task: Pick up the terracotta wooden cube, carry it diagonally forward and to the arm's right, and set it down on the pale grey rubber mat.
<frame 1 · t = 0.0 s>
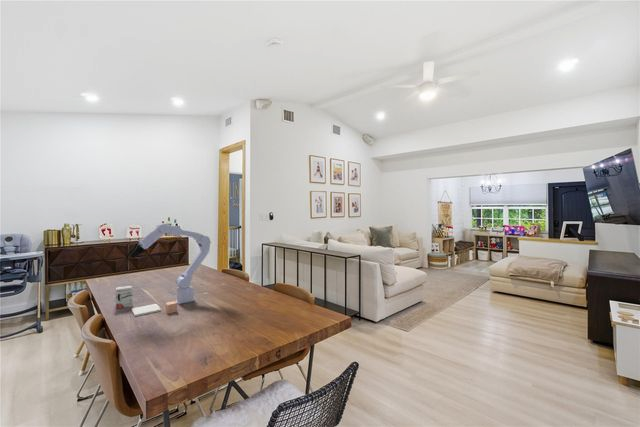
hand: (130, 256, 168), 32 cm above the table, tool tilted 50°, fingers open, 7 cm apart
cube: (171, 311, 169), on the table
mat: (146, 310, 171), on the table
ink box: (124, 306, 179), on the table
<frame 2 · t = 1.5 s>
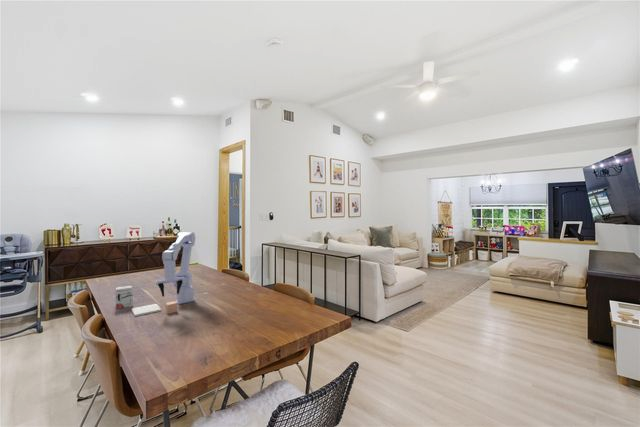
hand: (170, 295, 169), 10 cm above the table, tool pointing down, fingers open, 7 cm apart
nothing on the table moved.
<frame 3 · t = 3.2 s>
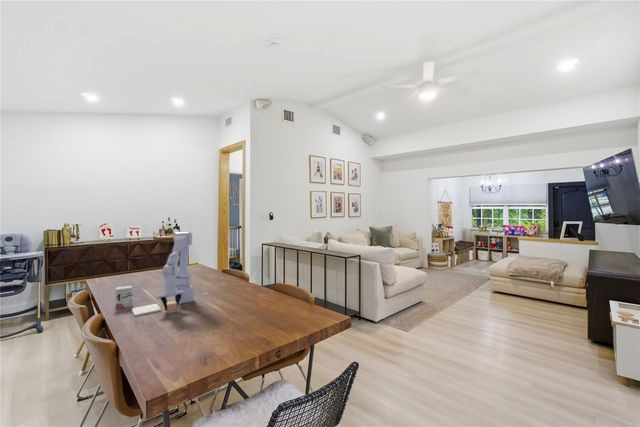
hand: (171, 308, 169), 1 cm above the table, tool pointing down, fingers closed on cube, 5 cm apart
cube: (171, 311, 169), on the table, touching gripper
everything else where it was.
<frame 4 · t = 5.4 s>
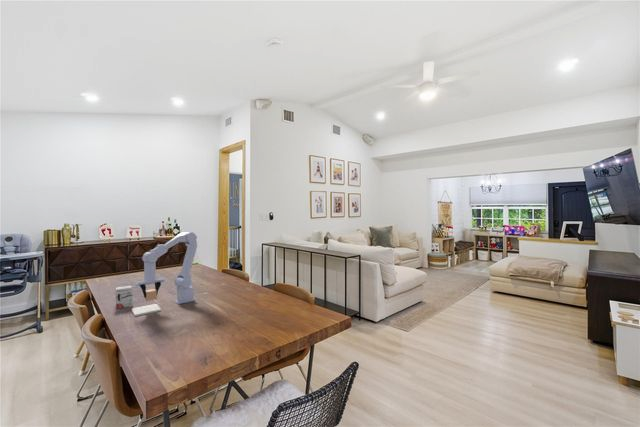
hand: (150, 296, 170), 8 cm above the table, tool pointing down, fingers closed on cube, 5 cm apart
cube: (150, 299, 170), point 7 cm above the table, touching gripper
everything else where it was.
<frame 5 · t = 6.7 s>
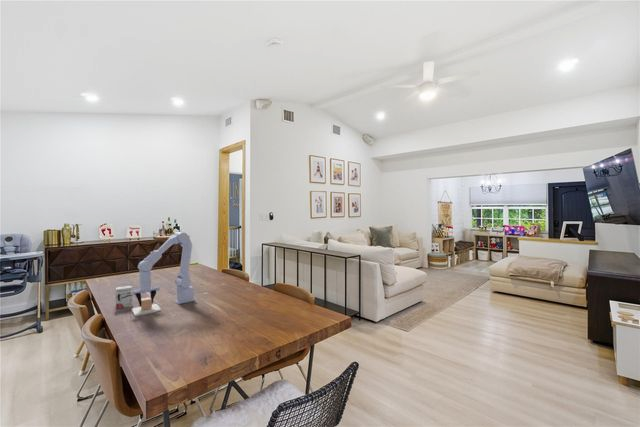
hand: (146, 304, 171), 3 cm above the table, tool pointing down, fingers closed on cube, 5 cm apart
cube: (146, 307, 171), point 2 cm above the table, touching gripper
everything else where it was.
when the fingers open (3 cm above the table, at t = 7.5 s): cube stays where it is, resting on mat.
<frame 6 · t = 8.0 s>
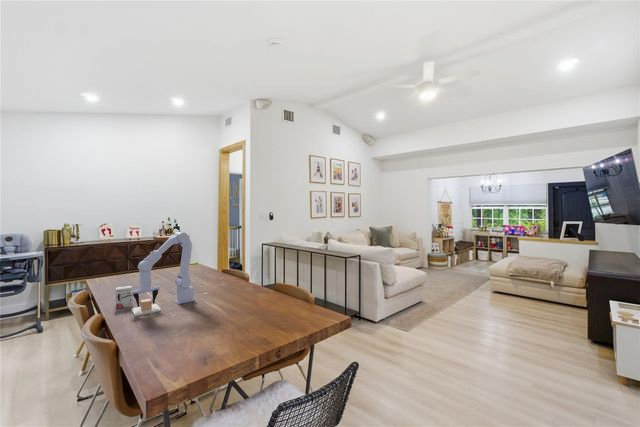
hand: (146, 304, 171), 3 cm above the table, tool pointing down, fingers open, 7 cm apart
cube: (146, 308, 171), point 1 cm above the table, touching mat
everything else where it was.
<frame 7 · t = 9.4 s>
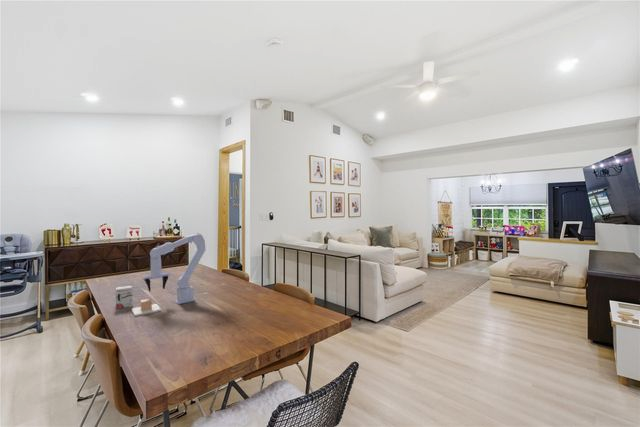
hand: (156, 289, 180), 9 cm above the table, tool pointing down, fingers open, 7 cm apart
nothing on the table moved.
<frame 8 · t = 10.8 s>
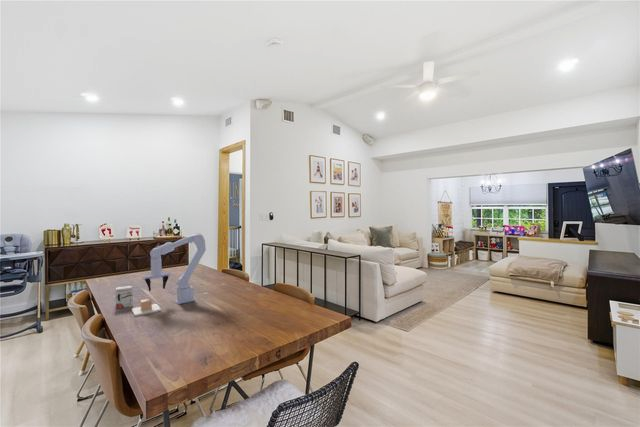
hand: (156, 289, 181), 9 cm above the table, tool pointing down, fingers open, 7 cm apart
nothing on the table moved.
at the end: cube inside the target area on the mat (0.1 cm from its centre), point 1.0 cm above the mat's base; cube tilted 0°; the gripper is holding nothing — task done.
